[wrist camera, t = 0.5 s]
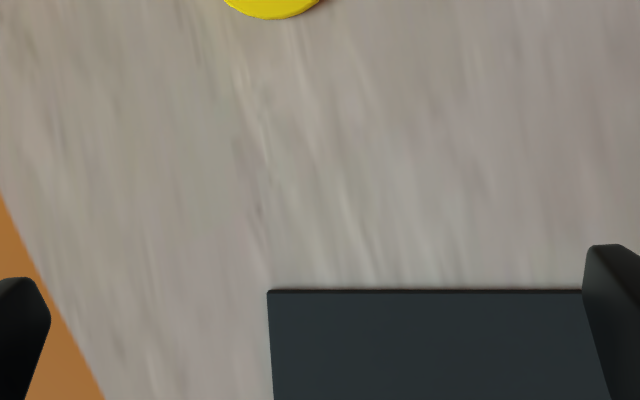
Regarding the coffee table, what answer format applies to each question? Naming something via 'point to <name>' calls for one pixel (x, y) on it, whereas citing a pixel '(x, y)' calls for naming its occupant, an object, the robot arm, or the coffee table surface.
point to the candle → (271, 7)
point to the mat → (432, 345)
